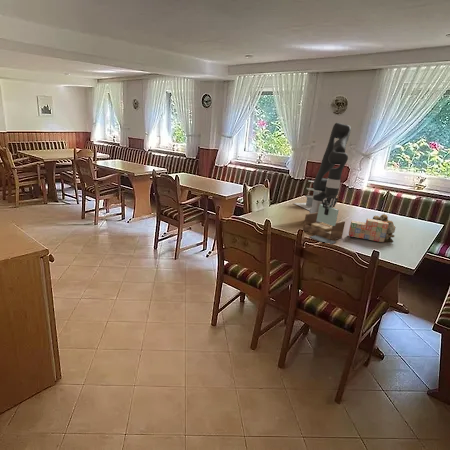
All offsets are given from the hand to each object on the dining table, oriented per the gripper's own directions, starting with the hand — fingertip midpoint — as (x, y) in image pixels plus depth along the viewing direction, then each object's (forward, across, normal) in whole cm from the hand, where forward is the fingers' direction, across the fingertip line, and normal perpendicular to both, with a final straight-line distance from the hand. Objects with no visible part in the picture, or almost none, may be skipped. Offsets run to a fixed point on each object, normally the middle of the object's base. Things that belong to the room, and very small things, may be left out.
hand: (327, 214), depth 200 cm
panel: (+5, 0, 0) cm, 5 cm away
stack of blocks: (+16, -29, +12) cm, 36 cm away
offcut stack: (+16, -9, -8) cm, 20 cm away
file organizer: (+17, -75, -58) cm, 97 cm away
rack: (+17, -11, -8) cm, 21 cm away
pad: (+17, 0, 0) cm, 17 cm away
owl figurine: (+17, -39, +16) cm, 46 cm away
